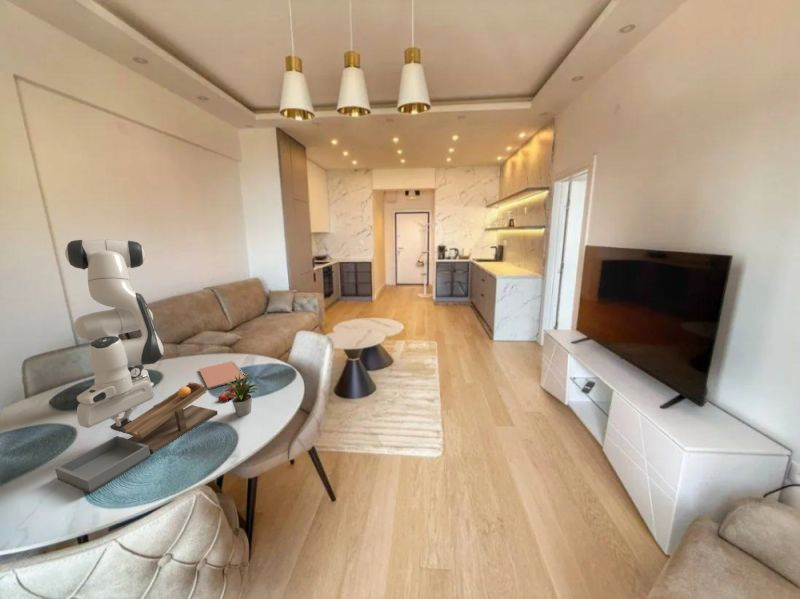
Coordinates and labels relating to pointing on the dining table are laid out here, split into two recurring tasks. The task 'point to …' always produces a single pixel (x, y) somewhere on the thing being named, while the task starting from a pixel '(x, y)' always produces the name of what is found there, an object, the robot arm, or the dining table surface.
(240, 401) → the house plant
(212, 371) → the notebook
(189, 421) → the lever stand
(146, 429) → the lever
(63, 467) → the tray
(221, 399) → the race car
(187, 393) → the ball
